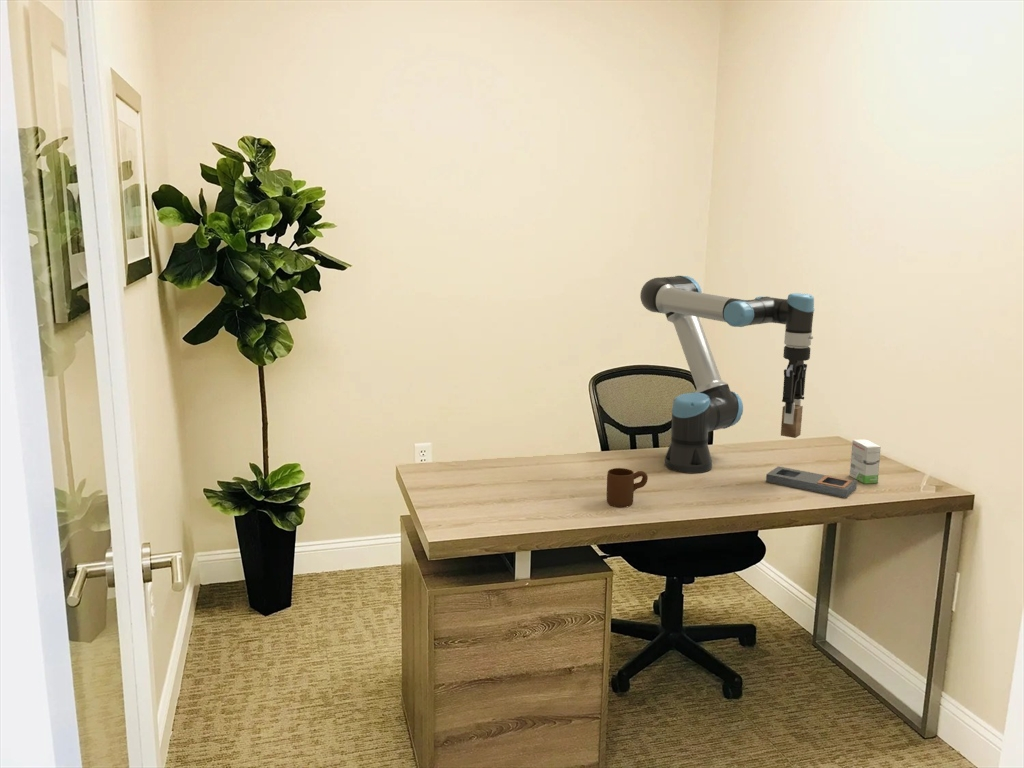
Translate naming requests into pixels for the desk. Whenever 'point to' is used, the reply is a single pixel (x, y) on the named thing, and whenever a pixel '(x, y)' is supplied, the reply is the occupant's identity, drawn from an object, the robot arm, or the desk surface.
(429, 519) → the desk surface
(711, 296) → the robot arm
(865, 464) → the ink box
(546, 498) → the desk surface
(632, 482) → the mug
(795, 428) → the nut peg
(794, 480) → the grey socket board
